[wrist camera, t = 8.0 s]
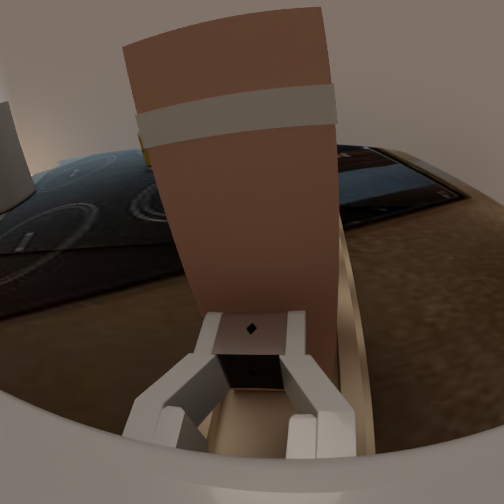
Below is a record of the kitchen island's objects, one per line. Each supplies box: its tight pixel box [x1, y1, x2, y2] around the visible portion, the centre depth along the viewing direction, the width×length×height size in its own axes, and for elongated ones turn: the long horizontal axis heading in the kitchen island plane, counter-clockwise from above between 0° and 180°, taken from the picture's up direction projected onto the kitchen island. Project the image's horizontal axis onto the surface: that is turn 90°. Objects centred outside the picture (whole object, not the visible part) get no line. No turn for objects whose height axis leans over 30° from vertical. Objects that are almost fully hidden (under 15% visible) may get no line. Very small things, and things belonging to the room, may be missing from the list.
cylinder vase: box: [0, 102, 36, 213], centre depth 53 cm, size 12×12×25 cm
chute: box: [197, 214, 375, 459], centre depth 21 cm, size 25×9×4 cm, turn 173°
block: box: [122, 7, 339, 391], centre depth 12 cm, size 6×5×15 cm
